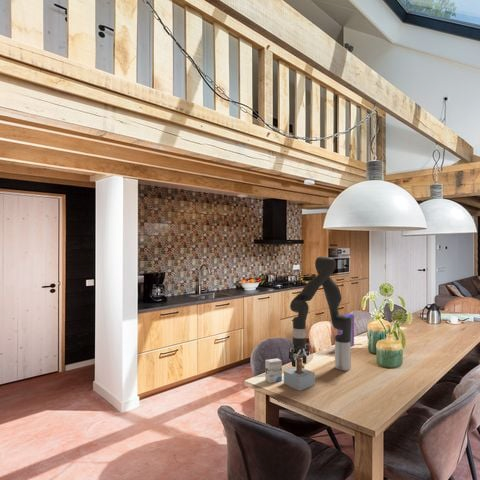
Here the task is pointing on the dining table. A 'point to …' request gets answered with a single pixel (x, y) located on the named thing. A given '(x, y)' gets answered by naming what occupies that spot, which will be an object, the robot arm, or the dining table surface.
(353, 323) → the cereal box
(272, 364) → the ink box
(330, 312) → the robot arm
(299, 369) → the long pin
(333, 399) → the dining table surface
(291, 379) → the hole block
